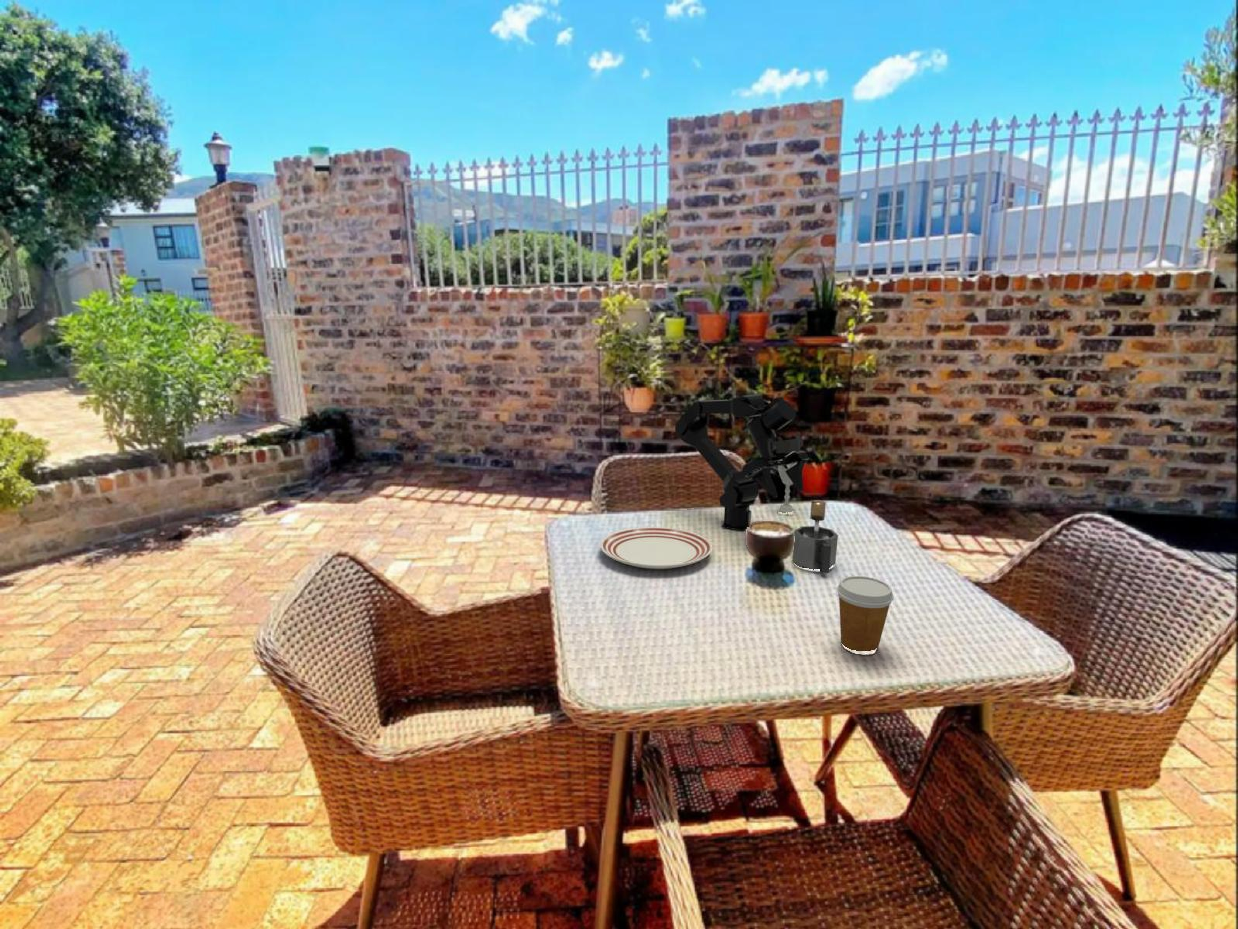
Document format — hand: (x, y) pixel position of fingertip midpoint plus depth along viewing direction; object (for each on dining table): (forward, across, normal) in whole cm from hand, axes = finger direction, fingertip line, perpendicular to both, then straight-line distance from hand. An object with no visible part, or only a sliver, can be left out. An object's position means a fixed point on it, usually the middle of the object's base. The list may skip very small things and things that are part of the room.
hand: (788, 494), depth 162 cm
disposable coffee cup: (+37, -26, -25) cm, 51 cm away
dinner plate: (+4, -31, +19) cm, 37 cm away
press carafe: (+19, -4, -2) cm, 19 cm away
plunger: (+14, -3, -4) cm, 15 cm away
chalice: (0, +20, +23) cm, 31 cm away
